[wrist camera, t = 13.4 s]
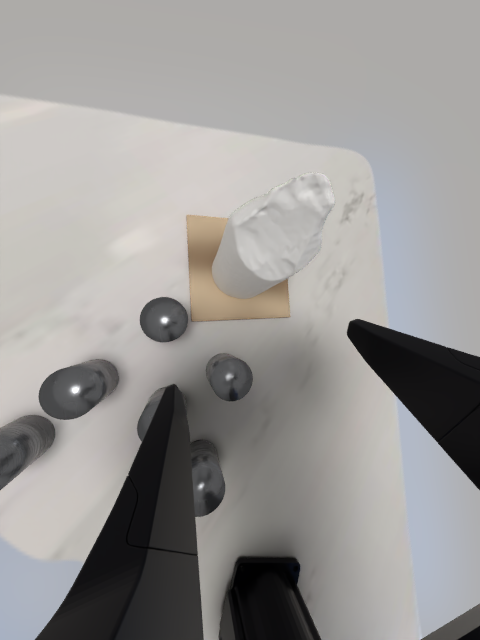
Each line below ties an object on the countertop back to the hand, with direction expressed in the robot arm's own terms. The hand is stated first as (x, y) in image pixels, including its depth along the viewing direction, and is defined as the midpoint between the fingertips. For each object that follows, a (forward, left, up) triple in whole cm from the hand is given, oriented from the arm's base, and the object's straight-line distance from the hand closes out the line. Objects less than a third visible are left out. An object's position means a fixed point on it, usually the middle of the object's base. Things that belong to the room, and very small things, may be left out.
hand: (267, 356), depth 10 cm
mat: (+1, -8, -10) cm, 13 cm away
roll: (+1, -7, -10) cm, 12 cm away
